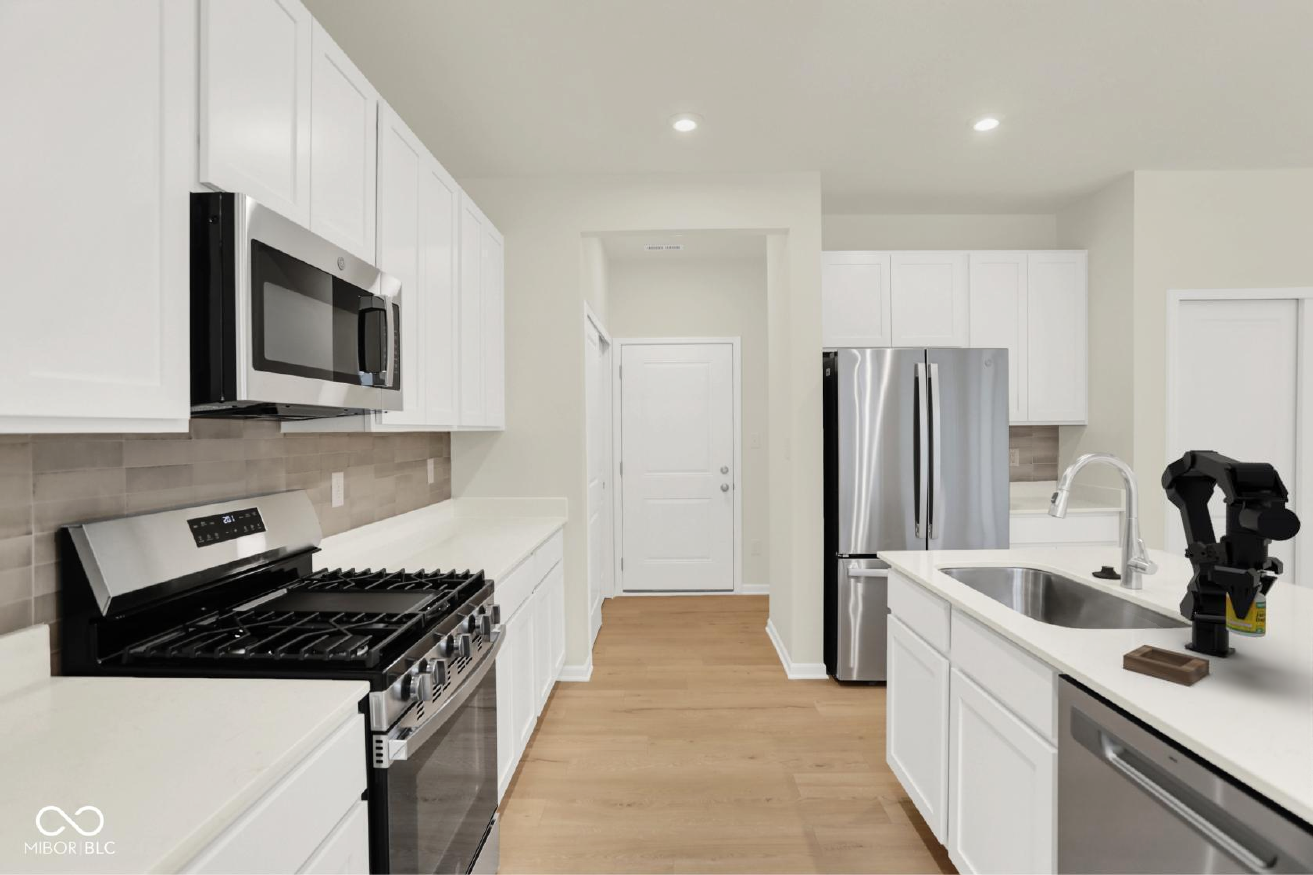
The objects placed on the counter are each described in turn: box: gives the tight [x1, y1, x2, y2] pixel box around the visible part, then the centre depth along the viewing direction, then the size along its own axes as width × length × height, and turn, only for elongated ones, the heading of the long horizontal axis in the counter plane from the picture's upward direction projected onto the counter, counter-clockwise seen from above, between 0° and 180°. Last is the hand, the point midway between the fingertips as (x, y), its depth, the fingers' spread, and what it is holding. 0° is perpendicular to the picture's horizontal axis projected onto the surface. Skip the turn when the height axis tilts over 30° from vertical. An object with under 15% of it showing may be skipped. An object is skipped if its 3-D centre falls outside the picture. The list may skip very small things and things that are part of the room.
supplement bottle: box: [1226, 582, 1267, 638], centre depth 116 cm, size 5×5×10 cm
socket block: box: [1122, 644, 1210, 687], centre depth 119 cm, size 10×10×2 cm
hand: (1245, 616), depth 116 cm, fingers closed on supplement bottle, 5 cm apart
